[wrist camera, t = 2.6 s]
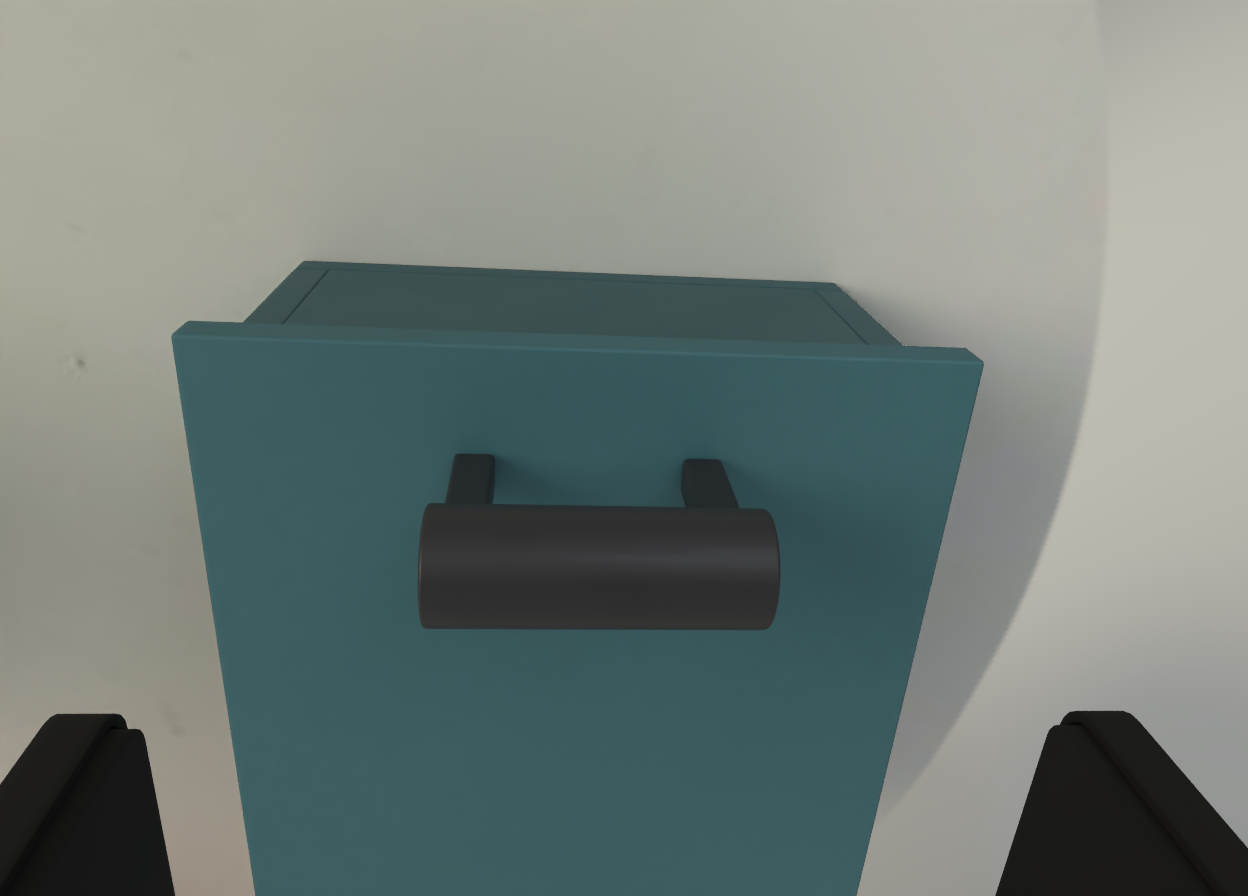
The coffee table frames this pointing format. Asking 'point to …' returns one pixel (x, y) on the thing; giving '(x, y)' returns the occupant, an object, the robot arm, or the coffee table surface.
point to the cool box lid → (565, 600)
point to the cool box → (567, 304)
